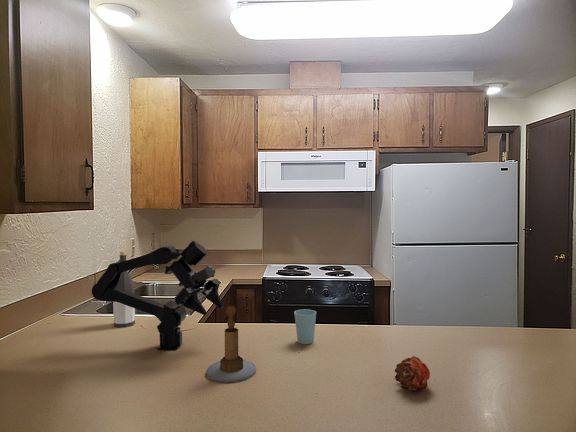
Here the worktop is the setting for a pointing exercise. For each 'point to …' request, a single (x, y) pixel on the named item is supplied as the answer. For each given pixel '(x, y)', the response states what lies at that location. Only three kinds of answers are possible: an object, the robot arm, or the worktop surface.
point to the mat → (224, 377)
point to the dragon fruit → (412, 373)
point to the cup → (305, 325)
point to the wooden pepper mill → (231, 345)
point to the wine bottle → (121, 312)
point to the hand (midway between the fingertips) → (214, 310)
